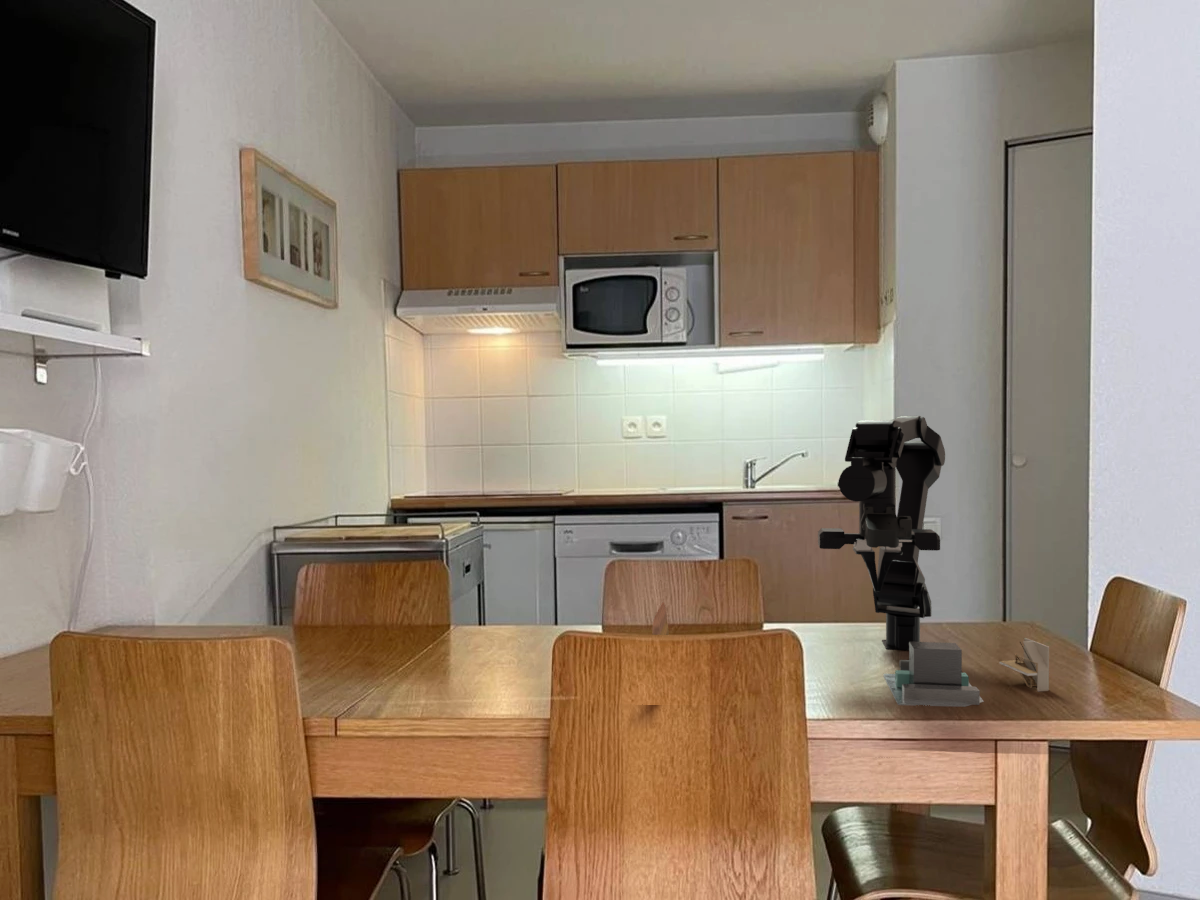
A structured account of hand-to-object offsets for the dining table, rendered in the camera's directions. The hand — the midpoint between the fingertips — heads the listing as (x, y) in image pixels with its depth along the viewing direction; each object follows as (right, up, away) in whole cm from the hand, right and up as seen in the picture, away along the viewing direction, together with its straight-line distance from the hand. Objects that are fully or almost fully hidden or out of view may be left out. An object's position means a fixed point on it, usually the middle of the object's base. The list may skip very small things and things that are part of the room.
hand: (877, 591), depth 147 cm
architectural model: (+18, -13, -14) cm, 27 cm away
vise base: (+3, -13, -16) cm, 20 cm away
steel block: (+3, -12, -17) cm, 21 cm away
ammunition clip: (-36, -13, -10) cm, 40 cm away
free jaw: (+4, -12, -11) cm, 17 cm away
